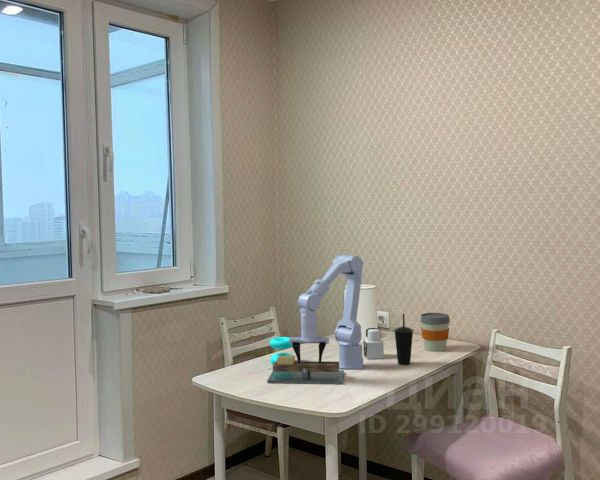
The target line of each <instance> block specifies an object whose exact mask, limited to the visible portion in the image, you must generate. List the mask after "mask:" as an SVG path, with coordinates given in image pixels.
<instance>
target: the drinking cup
mask: <svg viewBox="0 0 600 480" xmlns="http://www.w3.org/2000/svg"><path fill="white" fill-rule="evenodd" d="M405 319H406V318H405V313H402V326H399V327H395V328H394V330H393V331H394V337H395V346H396V347H395V348H396V357H397V365H400V366H409V365H411V357H412V345H413V334H414V329H413V328H410V327H409V326H406V325H405Z"/></svg>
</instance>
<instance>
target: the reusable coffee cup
mask: <svg viewBox="0 0 600 480" xmlns="http://www.w3.org/2000/svg"><path fill="white" fill-rule="evenodd" d="M420 323H421V327H420V330H421V336H422V339H423V344H424V345H423V346H424V350H425V351H428V352H434V353H437V352H439V353H441V352H445V351H446V349H447V342H448V339H449V332H450V328H449V327H450V326H449V325H450V323H451V320H450V315H449V314H448V313H443V312H425V313H422V314H421V315H420Z"/></svg>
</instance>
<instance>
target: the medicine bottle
mask: <svg viewBox="0 0 600 480" xmlns="http://www.w3.org/2000/svg"><path fill="white" fill-rule="evenodd" d="M381 336H382V335H381V329H379V328H378V327H377V328H376V327H369V328H366V329H365V338H363V344H362V345H363V356H364V357H365V358H366V360H379V359H380V360H381V359H384V358H385V357H384V356H385V355H384V354H385V353H384V352H385V351H384V341H383V340H382V339H381Z"/></svg>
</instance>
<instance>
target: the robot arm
mask: <svg viewBox="0 0 600 480" xmlns="http://www.w3.org/2000/svg"><path fill="white" fill-rule="evenodd" d="M363 267H364V262H363V260H362V258H361V257H360V256H359V255H347V254H346V255H345V254H337V255H336V257H335V258H334V259H333V260H332V265H331V266H330V267H329V269H328V271H326V273H325V275H324V276H323V277H322V279H319V278H318V279H316V280H315V281H313V284H312V285H311V287H310V288H309V289H307V291H306V292H305V293H302V294H300V296H298V299H297V302H296V305H297V306H298V308H299V313H300V327H301V328H300V329H301V331H300V333H301V334H300V335H301V336H293V337H291V336H290V338H289V344H292V347H291V348H292V349H293V351H294V353H295V357H296V359H297V361H298V363H300V362H301V361H302V360H301V344H318V361H319V363H321V361H322V358H323V354H324V350H325V348H326V346H327V345H329V343H330V337H325V336H323V337H322V336H318V332H317V331H318V329H317V327H318V326H317V310H318V309H319V307H320V304H321V301H322V299H323V297H324V296H325V295H326V294H327V293H328V292H329V290H330V285H331V284H332V283H333V282H334V281H335V280H336V279H337V278H338V277H339V276H340V274H341V275H343V276H345V278H346V279H347V281H346V282H347V283H346V290H345V296H344V297H345V299H344V305H343V306H344V307H343V314H342V318H341V319H339V321H337V323H336V324H337V326H336V329H335V331H334V339H335V341H337V344H338V353H339V354H338V355H339V357H338V360H339V361H338V362H339V370H340V369H341V370H344V369H345V370H362V369H363V364H364V358H363V344H360V342H361V341H362V335H363V334H362V326H361V324H360V323H359V322H358V321H357V317H358V309H359V303H360V295H361V294H360V293H361V287H362V279H363V276H362V274H363Z"/></svg>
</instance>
